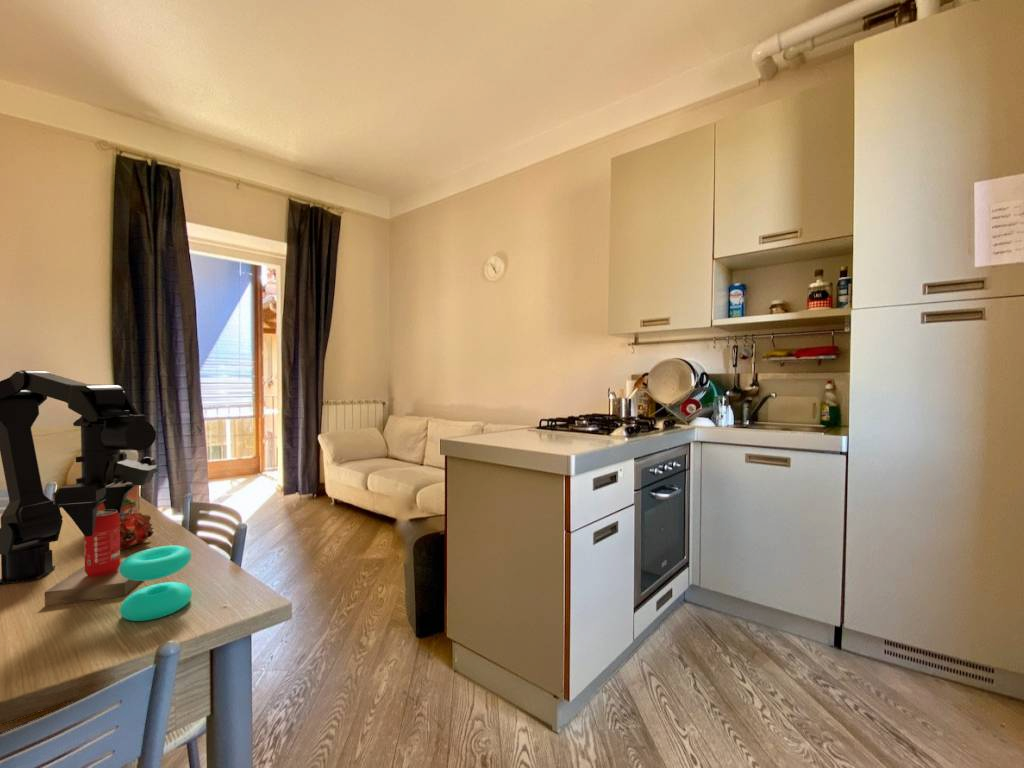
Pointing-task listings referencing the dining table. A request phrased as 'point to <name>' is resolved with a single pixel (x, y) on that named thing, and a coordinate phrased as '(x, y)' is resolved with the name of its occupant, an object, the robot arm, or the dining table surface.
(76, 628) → the dining table surface
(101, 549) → the beverage can
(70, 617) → the dining table surface
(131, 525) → the dragon fruit
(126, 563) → the donuts
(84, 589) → the walnut plinth
